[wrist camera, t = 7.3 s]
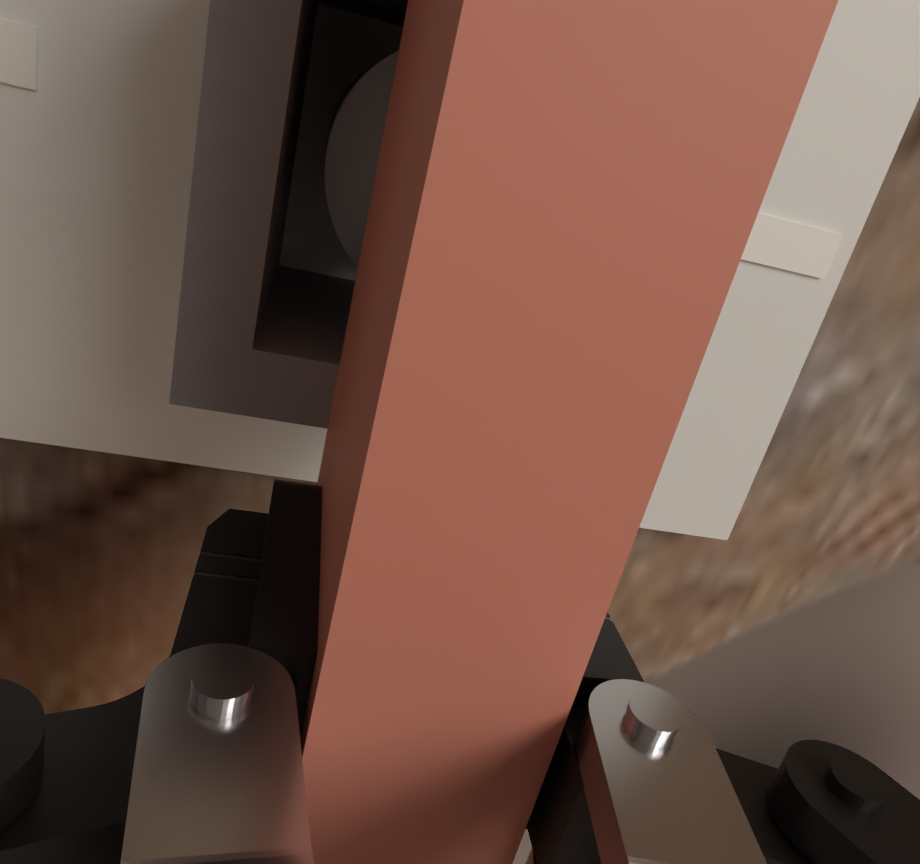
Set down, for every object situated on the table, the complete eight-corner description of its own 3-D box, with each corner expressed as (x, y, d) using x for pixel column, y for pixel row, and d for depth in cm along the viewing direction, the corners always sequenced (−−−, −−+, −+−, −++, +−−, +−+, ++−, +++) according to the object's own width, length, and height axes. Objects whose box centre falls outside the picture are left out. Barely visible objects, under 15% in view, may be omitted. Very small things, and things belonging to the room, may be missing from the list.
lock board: (-108, 400, 16) (-334, 560, 11) (-153, -570, 11) (-669, -1267, 5) (705, 519, 21) (839, 675, 16) (970, -117, 15) (1330, -233, 10)
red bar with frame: (302, -348, 12) (161, -2240, 2) (695, -195, 13) (1603, -908, 4) (202, 459, 17) (32, 935, 7) (493, 500, 18) (662, 937, 9)
